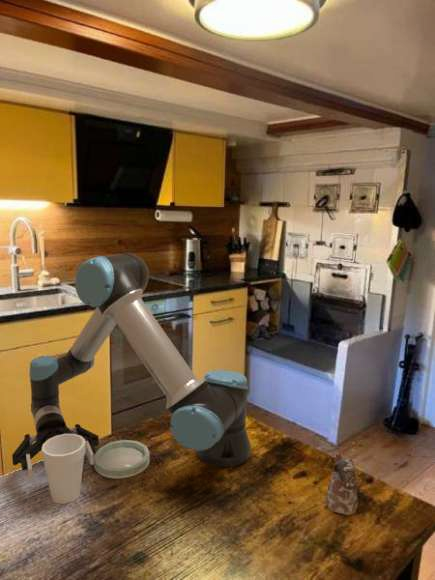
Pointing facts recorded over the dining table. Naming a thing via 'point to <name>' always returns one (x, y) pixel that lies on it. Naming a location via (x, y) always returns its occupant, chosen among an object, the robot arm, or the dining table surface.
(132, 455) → the ceramic saucer
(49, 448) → the foam cup
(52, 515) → the dining table surface
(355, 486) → the figurine
